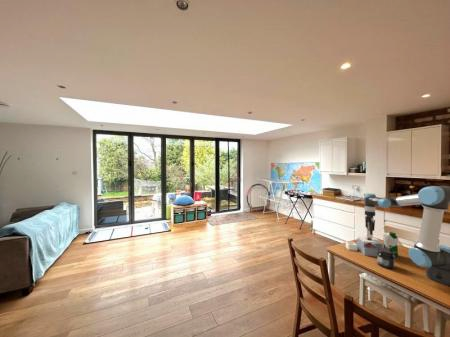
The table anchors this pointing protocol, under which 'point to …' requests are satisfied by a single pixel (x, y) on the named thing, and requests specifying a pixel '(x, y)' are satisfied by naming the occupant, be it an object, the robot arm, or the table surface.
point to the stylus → (368, 236)
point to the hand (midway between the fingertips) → (369, 236)
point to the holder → (351, 246)
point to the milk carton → (391, 242)
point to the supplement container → (386, 258)
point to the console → (369, 250)
